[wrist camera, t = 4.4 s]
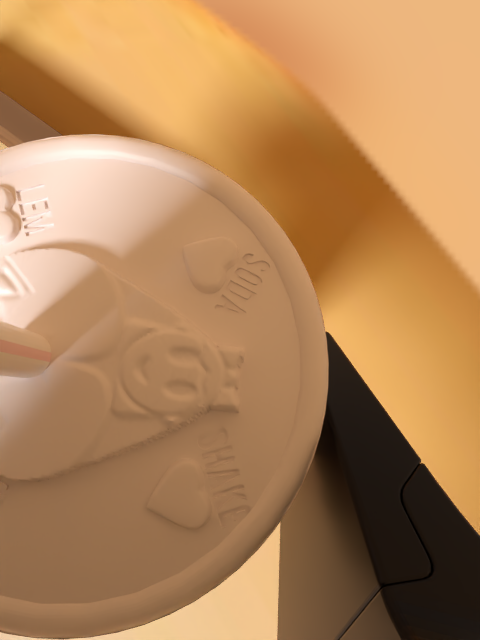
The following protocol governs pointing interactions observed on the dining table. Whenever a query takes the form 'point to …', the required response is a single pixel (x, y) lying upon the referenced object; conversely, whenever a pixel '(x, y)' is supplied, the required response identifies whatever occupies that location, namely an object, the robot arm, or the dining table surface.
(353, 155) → the dining table surface
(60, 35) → the dining table surface
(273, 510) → the smoothie
